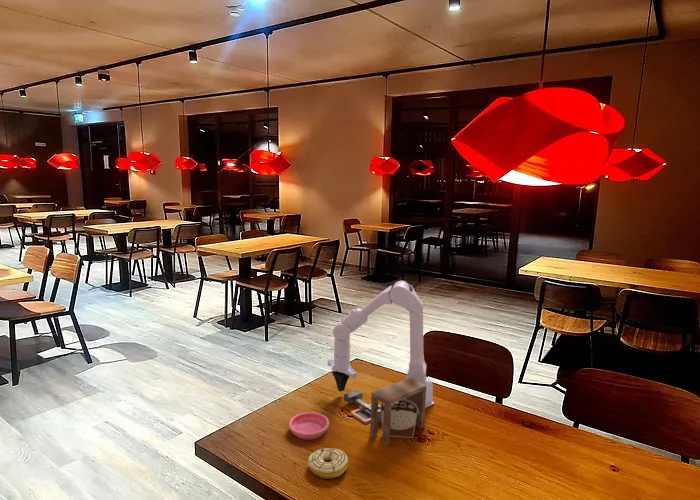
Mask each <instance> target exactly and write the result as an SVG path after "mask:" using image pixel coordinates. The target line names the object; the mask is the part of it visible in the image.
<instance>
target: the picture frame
mask: <svg viewBox="0 0 700 500" xmlns="http://www.w3.org/2000/svg"><path fill="white" fill-rule="evenodd" d="M368 405H370V406H371V403H369V404H368ZM380 405H381V404H378V410H379V408H380ZM380 409H381V408H380ZM350 415H351V416H352V417H355V419H357V420H358V421H361V422H362V423H363V424H365V425H366V424H369V423H371V412H369V411H368V410H366V409H365V408H363V407H359V408H357V409H355V410H352V411H350Z"/></svg>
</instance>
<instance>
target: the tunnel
mask: <svg viewBox="0 0 700 500" xmlns="http://www.w3.org/2000/svg"><path fill="white" fill-rule="evenodd" d="M426 386H427V385H424V384H422V383H420V382H418V381H416V380H414V379H412V378H408V379H406V378H405V379H403V380H400V381H398V382H395V383H393V384H390V385H388V386H387V385H386V386H385V387H383V388H379V389H377V390H375V391H373V392H371V397H370V398H371V401H370V402H371V403H370V404H371V422H370V428H369V429H370V434H369V435H370V436H371V437H372V438H376V437H378V424H379V423H378V405H379V402H381V403H384V418H383V434H382V445H383V446H385V447H387V446H389V445H391V444H390V443H391V442H390V439H391V436H390V423H391V404H392V403H395V402H397V401H399V400H402V399H405V398H406V399H408V400H410V401H412V402H414V403H415V404H416V405H417V407H418V410H419V413H418V412H417V418H416V424H415V427H417V428H420V429H423V428H425V419H426V408H425V404H426Z"/></svg>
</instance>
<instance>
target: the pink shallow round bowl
mask: <svg viewBox="0 0 700 500" xmlns="http://www.w3.org/2000/svg"><path fill="white" fill-rule="evenodd" d="M288 427H289V430H290V431H291V433H292V434H293V435H295V436H296V437H297V438H299V439H301V440H307V441H311V440H316V439H319V438H320V437H322V436H323V435H324V434H325V433H326V432H327V431H328V430H329V427H330V421H329V419H328V417H327V416H326V415H324V414H322V413H319V412H314V411H309V412H302V413H299V414H296V415H294V416H293V417H292V418H291V419H290V421H289V423H288Z"/></svg>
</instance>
